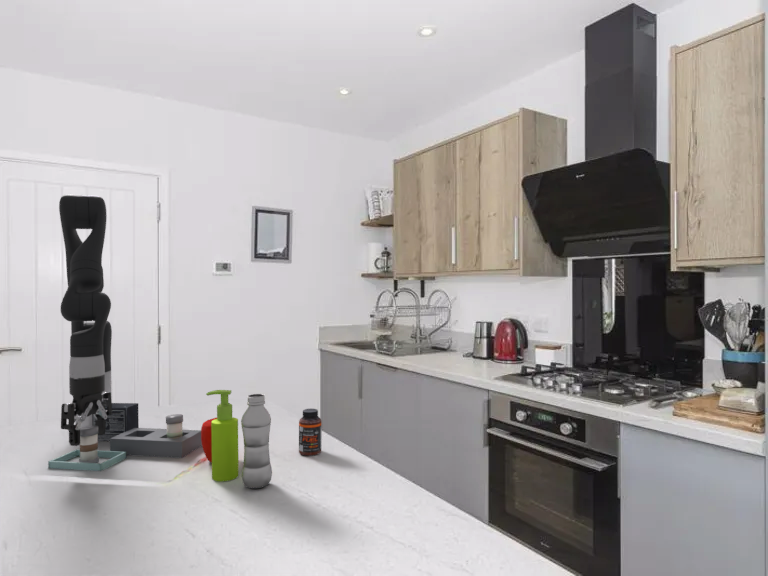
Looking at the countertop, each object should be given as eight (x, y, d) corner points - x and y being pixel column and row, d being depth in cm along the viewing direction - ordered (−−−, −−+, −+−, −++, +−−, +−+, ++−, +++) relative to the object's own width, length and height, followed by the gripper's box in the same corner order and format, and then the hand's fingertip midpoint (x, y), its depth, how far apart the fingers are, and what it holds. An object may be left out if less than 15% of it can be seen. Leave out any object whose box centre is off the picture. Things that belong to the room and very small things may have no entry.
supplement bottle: (300, 457, 131) (300, 413, 131) (297, 450, 137) (296, 408, 137) (323, 455, 133) (323, 411, 133) (319, 448, 139) (318, 406, 139)
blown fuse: (74, 467, 124) (74, 430, 124) (87, 461, 128) (87, 425, 128) (90, 467, 124) (90, 430, 123) (102, 461, 128) (102, 425, 128)
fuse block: (110, 457, 132) (109, 419, 132) (135, 445, 142) (134, 409, 142) (182, 461, 129) (181, 422, 129) (202, 448, 139) (201, 412, 139)
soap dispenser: (210, 472, 121) (210, 388, 121) (240, 471, 122) (239, 387, 122) (204, 482, 115) (203, 393, 115) (235, 481, 116) (234, 392, 116)
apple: (233, 466, 125) (232, 422, 125) (196, 467, 125) (196, 423, 125) (240, 454, 134) (240, 413, 134) (206, 455, 134) (206, 414, 133)
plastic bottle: (277, 482, 115) (277, 393, 115) (261, 493, 109) (260, 400, 109) (253, 478, 117) (252, 391, 117) (235, 490, 111) (234, 397, 111)
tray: (48, 471, 122) (48, 461, 122) (76, 459, 131) (76, 449, 131) (101, 475, 120) (101, 464, 120) (126, 461, 129) (126, 451, 129)
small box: (140, 438, 149) (139, 402, 149) (126, 445, 142) (126, 407, 142) (106, 437, 150) (105, 401, 150) (91, 444, 143) (90, 407, 143)
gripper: (94, 368, 133) (95, 431, 133) (50, 378, 119) (51, 448, 119) (120, 369, 132) (121, 432, 132) (79, 379, 118) (80, 450, 118)
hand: (88, 439), depth 126 cm, fingers open, 8 cm apart
